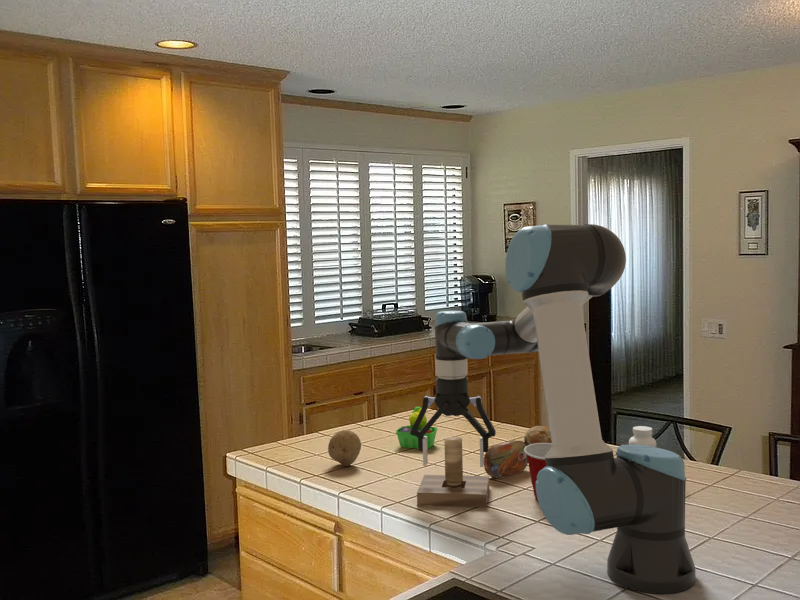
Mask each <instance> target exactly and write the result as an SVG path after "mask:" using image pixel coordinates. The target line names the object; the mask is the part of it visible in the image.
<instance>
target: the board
mask: <svg viewBox="0 0 800 600" xmlns="http://www.w3.org/2000/svg"><path fill="white" fill-rule="evenodd" d="M461 483H462V486H461V488H448V487H447V481H445V474H424V475H423V477H422V478H421V481H420V484H419V487H418V489H417V491H416V505H417V506H427V505H432V507H433V506H435V507H437V506H438V507H463V508H465V507H467V508H472V507H473V508H487V507H488V498H489V492H490V476H489V475H463V481H461Z"/></svg>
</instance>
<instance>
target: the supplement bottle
mask: <svg viewBox="0 0 800 600" xmlns="http://www.w3.org/2000/svg"><path fill="white" fill-rule="evenodd" d="M632 433H633V436H631V437H630V438H629V439H628V445H644V446H651V447H656V448H657V441H656V439H655V438H654V437H652V435H653V428H652V427H650V426H643V425H638V426H633V427H632Z"/></svg>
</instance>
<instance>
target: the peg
mask: <svg viewBox="0 0 800 600" xmlns="http://www.w3.org/2000/svg"><path fill="white" fill-rule="evenodd" d="M443 444H444V475H445V481H447V487H448V488H461V486H462V483H461V481H463V476H464V474H463V473H464V471H463V469H464V468H463V467H464V466H463V463H464V462H463V438H462V437H460V436H447V437H445V438H444V441H443Z"/></svg>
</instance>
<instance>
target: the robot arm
mask: <svg viewBox="0 0 800 600" xmlns="http://www.w3.org/2000/svg"><path fill="white" fill-rule="evenodd" d="M505 255H506V256H505V263H504V264H505V268H504V269H505V276H506V281H507V283H508V284H509V287H510V288H511V289H512V290H513V291H516V292H519V293H521V296H522V297H521V298H522V303H523V305H524V306H526V307H525V308H524V309H522V311H521V312H520V313H519V314H517V316H516V317H514V319H512V320H501V321H489V322H472V323H471V322H468V319H467V314H466V312H465V311H463V310H443V311H442V310H441V311H438V312H437V313H436V314H435V316H434V326H433V328H434V341H435V342H434V343H435V375H436V376H437V377H436V379H435V390H436V391H435V393H436V395H435V397H433V396H429V395H425V396H424V397H423V398H422V406H421V407H422V409H421V411H420V413H419V415H418V417H417V419H416V421H415V424H414V426H413V428H412V430H411V432H410V434H411V435H412V436H413V435H414V436H416V437H418V448H417V449H418V451H419V452H422V462H423V463H422V466H425V467H426V466H427V465H428V462H429V457H428V449H427V436H424V435H425V434H426V432H427V431H428V430H429V429H430V428H431V427H433V425H434V424H435V423H436V422H437V420H438V419H439V418H440V417H441V416H442V414H443V416H445V417H451V416H454V417H459V416H461V415H462V416H463V417H464V419H465V420H467V422H469V424H470V425H471V426H472V427H473V428H474V430H476V432H477V433H478V434H479V435H480V437H479V466H480V468H484V456H485V453H486V452H488V449H489V439H490V438H493V437H494V438H495V437H496V434H497V433H496V431H497V430H496V429H495V427H494V425H493V423H492V420H491V419H490V417H489V415H488V413H487V411H486V409H485V408H484V406H483V398H482V396H480V395H477V396H474V397H470V395H469V381H468V380H469V378H468V376H467V375H468V368H469V367H468V364H469V363H468V359H471V360H482V359H486V358H488V357H489V356H498V355H499V356H500V355H508V354H509V355H510V354H511V355H512V354H513V355H514V354H531V353H534V352H538V356H539V362H540V369H541V377H542V383H543V389H544V396H545V397H544V398H545V399H544V400H545V404H546V412H547V418H548V419H547V421H548V426H549V427H548V428H550V434H551V441H552V446H551V449H550V450H549V451H548V452H547V454H546V455H545V460H546V467H544V468H543V469H542V470H540V471H539V473H538V475H537V481H536V494H537V499H538V500H537V503H538V505H539V508H540V510H541V512H542V514H543V516H544V518H545V519H546V521H548V522H549V524H550V526H551V527H552V528H554V530H556V531H557V532H559V533H561V534H563V535H568V536H573V535H574V536H575V535H582V534H583V535H590V534H591V533H593V532H594V533H595V532H599V531H604V530H610V529H616V533H615V536H614V540H613V541H612V545H611V547H610V550H609V554H608V556H607V563H606V565H607V567H606V571H607V575H608V577H609V578H610V579H611V580H612V581H613V582H615V583H616V584H618V585H620V586H621V587H622V586H623V587H624V588H627V589H631V590H634V591H638V592H643V593H648V594H649V593H650V594H651V593H652V594H674V593H675V594H676V593H680V592H683V591H686V590H689V589H690V588H692V587H693V586H694V585H695V583H696V566H695V563H694V560H693V557H692V556H693V555H692V554H691V553H692V552H691V551H690V547H689V544H688V541H687V539H686V482H687V477H686V470H685V469H686V467H685V466H686V465H685V461H684V458H682V457H681V456H680V455H679V454H678V453H676V452H673V451H671V450H669V449H668V450H667V449H664V448H660V447H657V446H656V447H651V446H644V445H629V444H621V445H619V446H618V447H617V448H616V451H615V455H616V457H615V456H614V450H613V448H612V447H611V446H610V445H609V444H607V443H605V441H604V440H603V437H602V432H601V425H600V420H599V419H600V418H599V412H598V406H597V400H596V392H595V385H594V380H593V373H592V366H591V359H590V353H589V346H588V341H587V340H588V339H587V334H586V328H585V327H586V325H585V322H584V314H583V313H584V312H583V309H582V306H583V305H585V304H586V303H587V302H588V301H589V300H590V299H592V298H593V297H600V296H602V295H605V294H606V293H607V292H608V291H610V290H611V289H612V288H613V287H614V286H615V285H616V284H617V283H618V282H619V281H620V279H621V278H622V275H623V274H624V272H625V269H626V263H627V256H626V255H627V254H626V249H625V246H624V244H623V243H622V241H621V239H620V238H619V237H618V235H616V234H615V233H614V231H612V230H610V229H609V228H607V227H605V226H602V225H599V224H594V223H593V224H592V223H591V224H587V223H586V224H585V223H583V224H545V223H542V224H540V225H531V226H530V225H528V226H524V227H522V228H520V229H518V230H517V232H516V233H515V234H514V235H513V237H512V238H511V239H510V242H509V245H508V248H507V251H506V254H505ZM433 403H434V404H435V405H436V406H437V410H436V411H435V413H433V415H432V416H431V417H430V419H429V420H428V421H427V423H426V425H425V426H424V427H423V428H422V430H421V431H419V430H417V429H418V427H419V425H420V423H421V421H422V419H423V417H424V415H426V413H427V411H428V408H429V407H431V406H432V405H433ZM470 404H472V405H473V407H475V408H476V409H477V412H478V413H479V415H480V417H481V419H482V421H483V423H484V425H485V427H484V426H483V425H482V424H481V423H480V422H479V421H478V420H477V418H476V417H475V416H474V415H473V414H472V413H471V411H470V410H469V408H468V407H469V405H470ZM485 428H486V429H487V430H486V429H485Z"/></svg>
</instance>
